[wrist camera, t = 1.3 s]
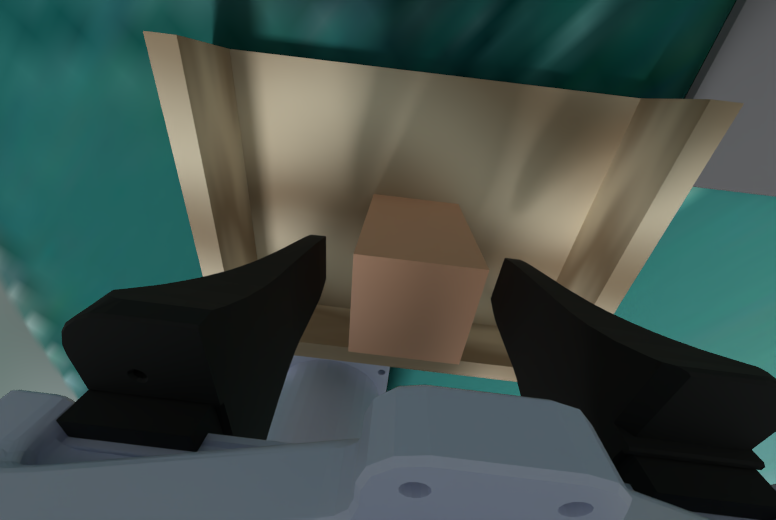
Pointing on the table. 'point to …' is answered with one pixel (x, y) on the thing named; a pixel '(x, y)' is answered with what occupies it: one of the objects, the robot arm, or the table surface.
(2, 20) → the table surface
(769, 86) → the mat
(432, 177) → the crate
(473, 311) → the block
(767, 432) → the robot arm
